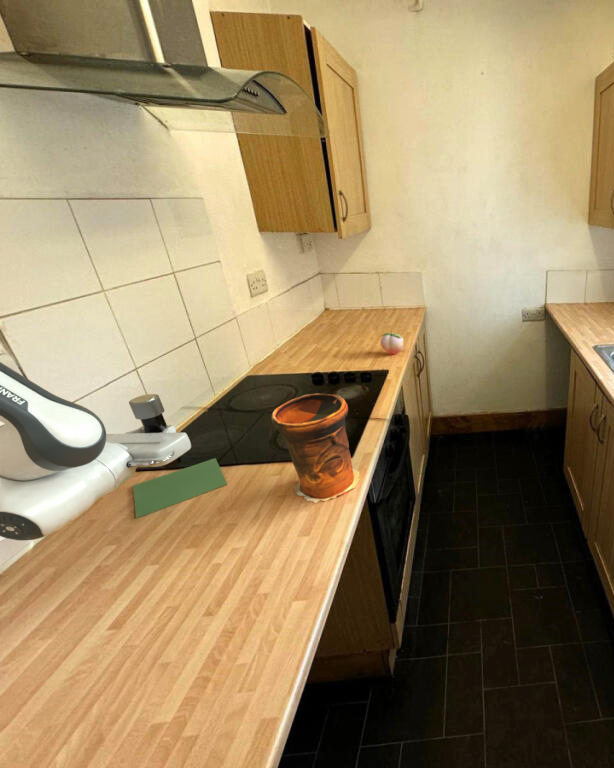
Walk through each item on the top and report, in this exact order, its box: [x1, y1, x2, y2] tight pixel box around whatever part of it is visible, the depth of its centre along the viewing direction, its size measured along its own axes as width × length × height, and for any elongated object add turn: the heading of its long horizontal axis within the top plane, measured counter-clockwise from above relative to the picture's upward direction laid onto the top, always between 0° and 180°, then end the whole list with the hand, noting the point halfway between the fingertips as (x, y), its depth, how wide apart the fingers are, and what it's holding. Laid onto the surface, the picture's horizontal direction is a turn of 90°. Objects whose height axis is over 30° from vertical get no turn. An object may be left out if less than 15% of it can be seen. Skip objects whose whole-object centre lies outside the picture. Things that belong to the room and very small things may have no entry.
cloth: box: [132, 457, 228, 519], centre depth 94 cm, size 16×14×1 cm
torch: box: [128, 393, 182, 470], centre depth 88 cm, size 5×5×16 cm
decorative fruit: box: [380, 332, 405, 355], centre depth 170 cm, size 9×8×10 cm
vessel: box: [270, 392, 361, 504], centre depth 90 cm, size 14×14×20 cm
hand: (160, 428), depth 89 cm, fingers closed on torch, 3 cm apart
